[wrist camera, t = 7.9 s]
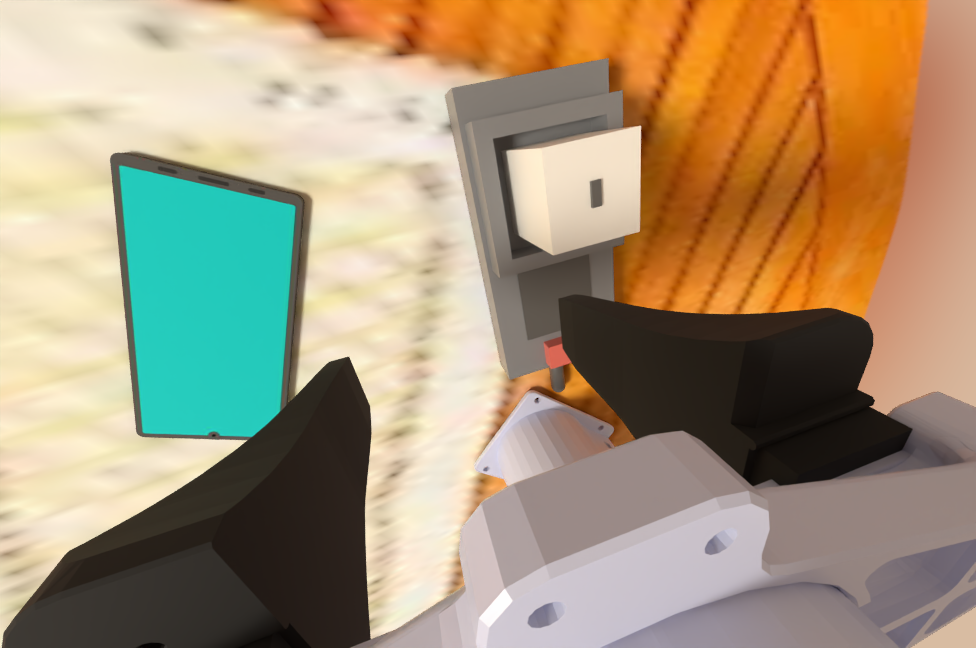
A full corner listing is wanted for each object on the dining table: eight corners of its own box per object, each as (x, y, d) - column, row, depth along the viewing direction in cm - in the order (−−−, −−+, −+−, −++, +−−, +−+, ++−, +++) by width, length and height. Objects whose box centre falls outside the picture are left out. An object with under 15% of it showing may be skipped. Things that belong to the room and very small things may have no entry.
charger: (582, 215, 19) (642, 232, 15) (514, 233, 19) (554, 256, 14) (577, 133, 18) (643, 125, 13) (501, 150, 17) (543, 147, 12)
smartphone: (303, 197, 17) (282, 441, 22) (306, 195, 18) (286, 432, 23) (106, 149, 15) (134, 437, 20) (119, 150, 15) (143, 427, 20)
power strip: (601, 371, 27) (628, 398, 24) (508, 402, 26) (525, 434, 23) (587, 67, 18) (627, 49, 15) (444, 95, 17) (457, 81, 14)
